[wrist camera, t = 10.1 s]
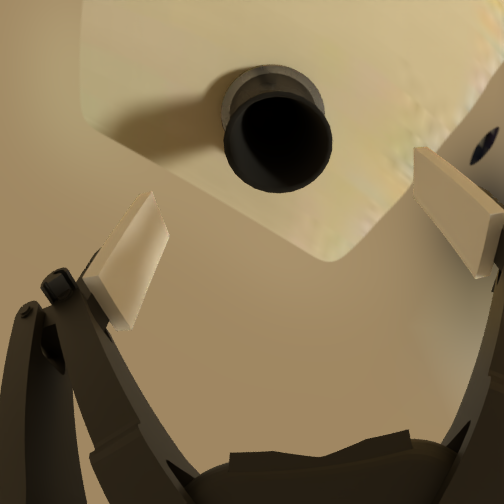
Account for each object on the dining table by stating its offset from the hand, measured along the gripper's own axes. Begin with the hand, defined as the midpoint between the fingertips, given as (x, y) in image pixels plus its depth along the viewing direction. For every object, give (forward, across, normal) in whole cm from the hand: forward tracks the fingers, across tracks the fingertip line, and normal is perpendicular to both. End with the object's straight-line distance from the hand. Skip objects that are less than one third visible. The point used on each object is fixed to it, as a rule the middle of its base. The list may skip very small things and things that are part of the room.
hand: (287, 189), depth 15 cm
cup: (+20, 0, 0) cm, 20 cm away
